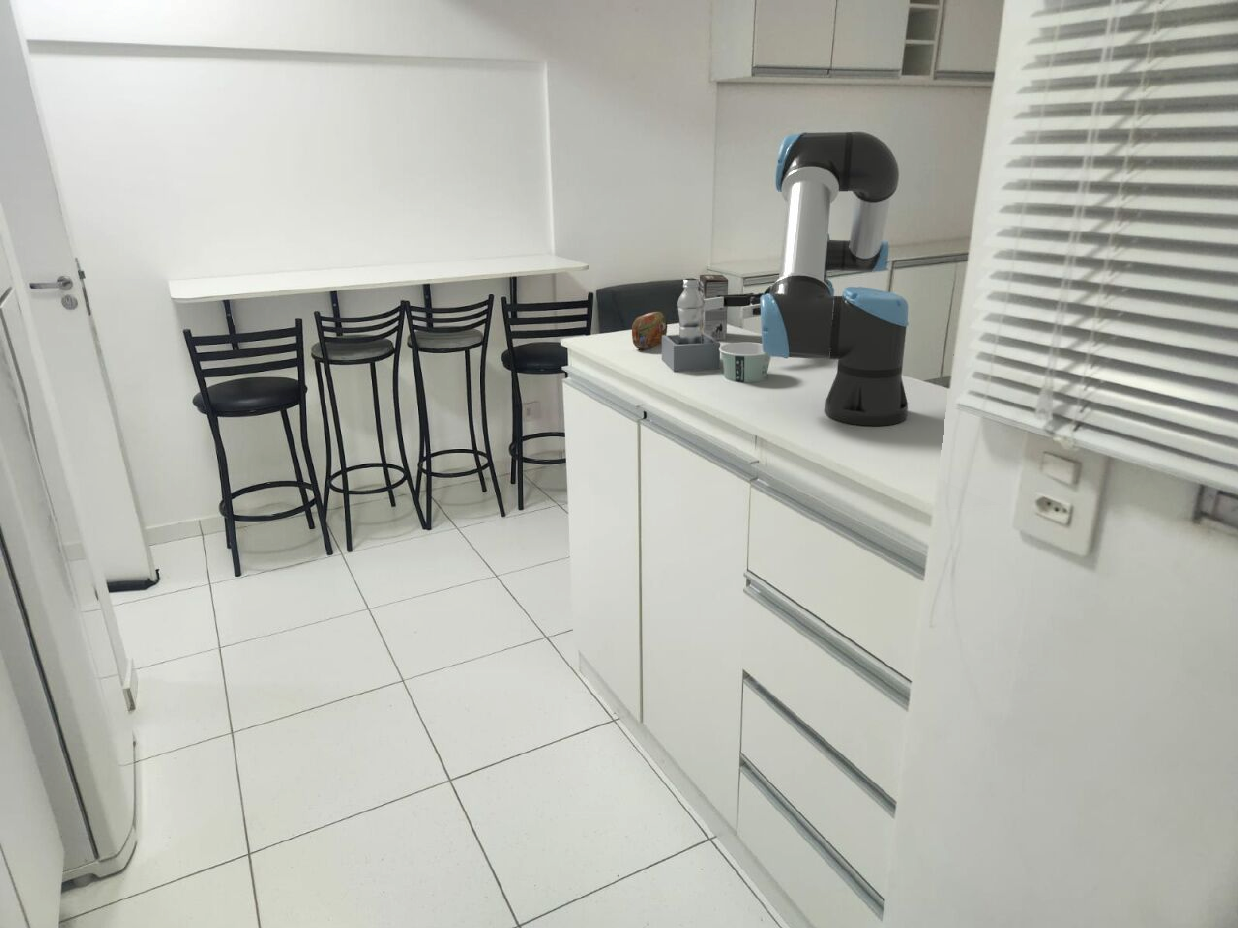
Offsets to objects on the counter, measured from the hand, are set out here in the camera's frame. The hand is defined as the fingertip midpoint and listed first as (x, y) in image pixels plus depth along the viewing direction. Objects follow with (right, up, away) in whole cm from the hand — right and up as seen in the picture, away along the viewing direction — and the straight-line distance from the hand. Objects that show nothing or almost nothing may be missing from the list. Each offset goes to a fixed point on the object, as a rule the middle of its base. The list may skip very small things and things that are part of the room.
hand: (721, 309), depth 193 cm
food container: (+4, -18, -12) cm, 22 cm away
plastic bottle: (-8, -14, -1) cm, 16 cm away
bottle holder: (-8, -13, -1) cm, 15 cm away
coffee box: (+1, -2, +27) cm, 27 cm away
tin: (-17, -6, +18) cm, 26 cm away
